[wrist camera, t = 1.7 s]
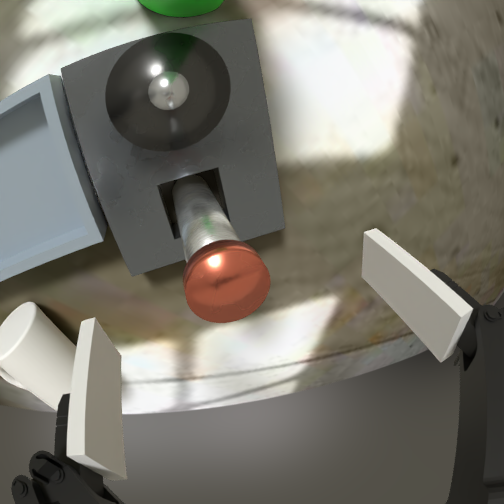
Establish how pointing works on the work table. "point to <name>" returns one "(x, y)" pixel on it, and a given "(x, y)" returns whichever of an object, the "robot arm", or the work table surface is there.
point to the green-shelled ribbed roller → (181, 7)
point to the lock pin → (216, 257)
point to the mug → (36, 354)
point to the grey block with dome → (176, 133)
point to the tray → (43, 181)
